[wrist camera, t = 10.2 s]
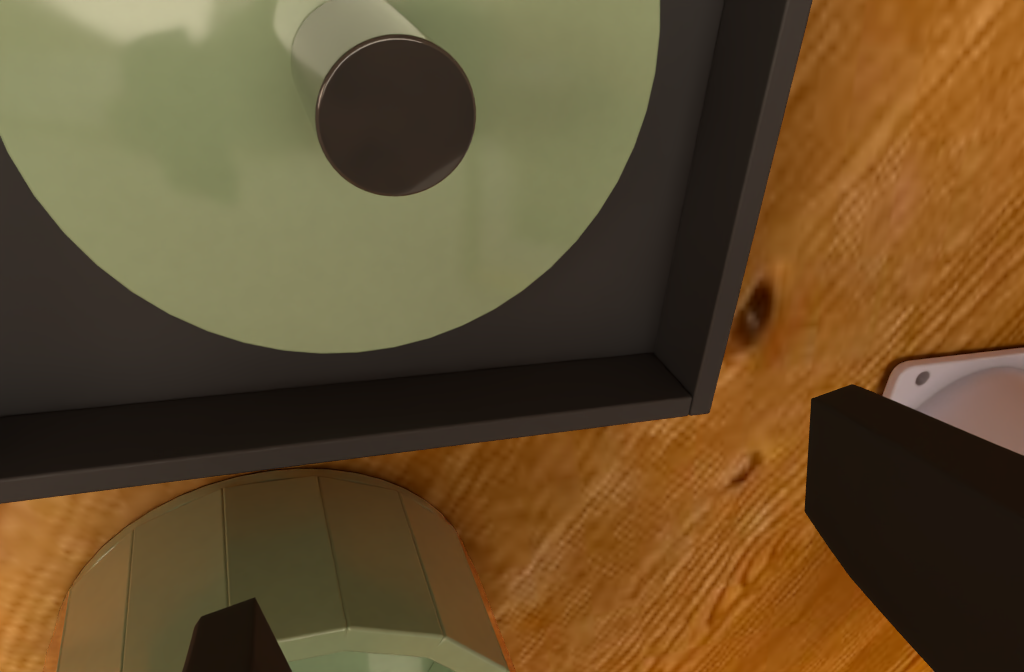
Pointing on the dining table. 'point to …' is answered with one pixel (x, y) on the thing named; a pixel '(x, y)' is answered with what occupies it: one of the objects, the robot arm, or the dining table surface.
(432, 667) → the pot
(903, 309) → the dining table surface
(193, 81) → the lid
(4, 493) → the tray
